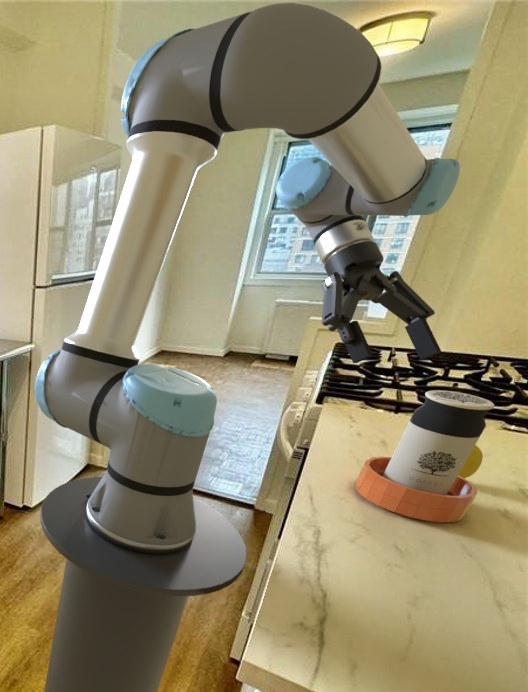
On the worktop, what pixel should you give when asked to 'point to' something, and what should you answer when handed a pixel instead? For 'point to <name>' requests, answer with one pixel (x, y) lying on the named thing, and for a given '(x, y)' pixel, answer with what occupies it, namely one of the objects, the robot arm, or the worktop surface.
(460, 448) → the travel mug
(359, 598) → the worktop surface
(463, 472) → the lemon
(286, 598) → the worktop surface
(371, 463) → the bowl
